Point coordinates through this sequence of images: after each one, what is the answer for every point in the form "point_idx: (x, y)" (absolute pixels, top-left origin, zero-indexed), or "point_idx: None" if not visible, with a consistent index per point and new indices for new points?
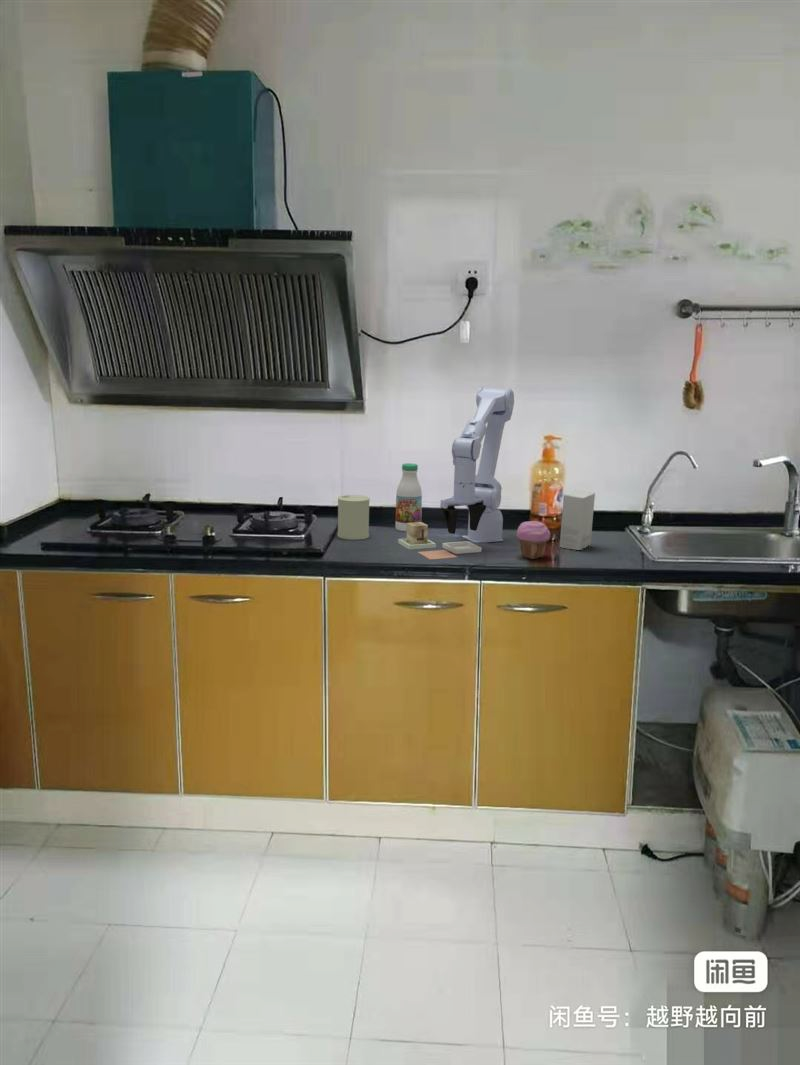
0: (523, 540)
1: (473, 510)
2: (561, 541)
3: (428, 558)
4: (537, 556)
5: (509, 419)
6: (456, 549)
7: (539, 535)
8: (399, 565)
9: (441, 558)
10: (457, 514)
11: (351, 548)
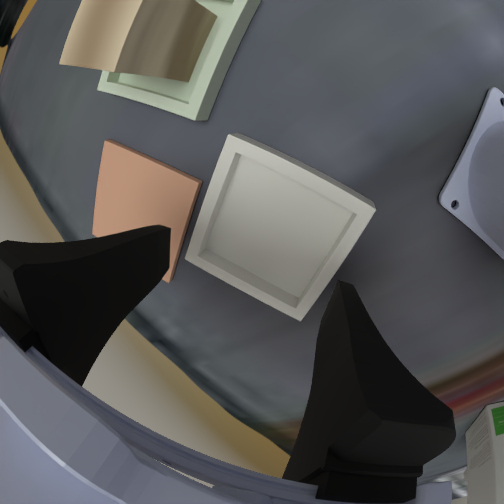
0: None
1: (321, 421)
2: (486, 422)
3: (94, 222)
4: None
5: None
6: (192, 259)
7: None
8: (41, 203)
9: None
10: (89, 363)
11: (52, 7)
